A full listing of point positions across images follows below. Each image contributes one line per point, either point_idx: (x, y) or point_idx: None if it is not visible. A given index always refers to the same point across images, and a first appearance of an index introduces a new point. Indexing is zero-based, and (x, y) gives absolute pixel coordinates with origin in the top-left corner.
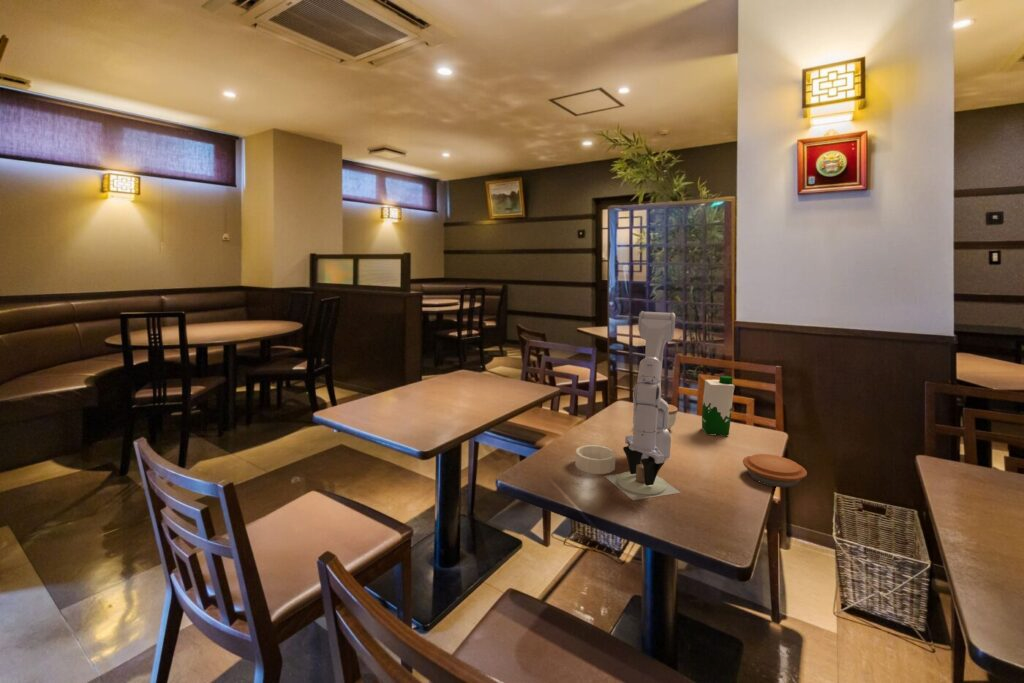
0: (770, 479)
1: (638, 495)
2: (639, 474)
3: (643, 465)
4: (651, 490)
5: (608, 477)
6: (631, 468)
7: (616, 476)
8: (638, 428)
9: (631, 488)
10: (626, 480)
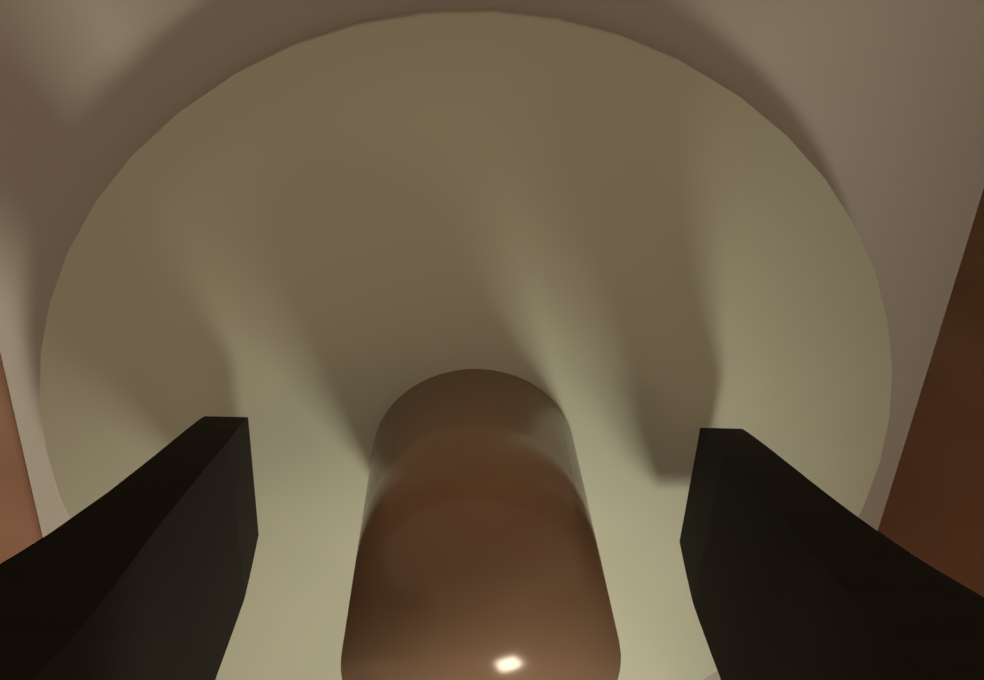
0: None
1: (75, 138)
2: (415, 478)
3: (3, 668)
4: (93, 411)
5: (949, 19)
6: (739, 489)
7: (896, 200)
8: None
9: (240, 116)
10: (593, 231)
